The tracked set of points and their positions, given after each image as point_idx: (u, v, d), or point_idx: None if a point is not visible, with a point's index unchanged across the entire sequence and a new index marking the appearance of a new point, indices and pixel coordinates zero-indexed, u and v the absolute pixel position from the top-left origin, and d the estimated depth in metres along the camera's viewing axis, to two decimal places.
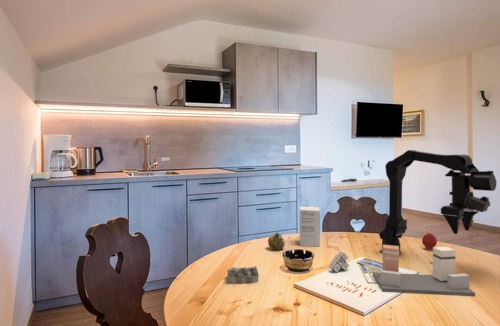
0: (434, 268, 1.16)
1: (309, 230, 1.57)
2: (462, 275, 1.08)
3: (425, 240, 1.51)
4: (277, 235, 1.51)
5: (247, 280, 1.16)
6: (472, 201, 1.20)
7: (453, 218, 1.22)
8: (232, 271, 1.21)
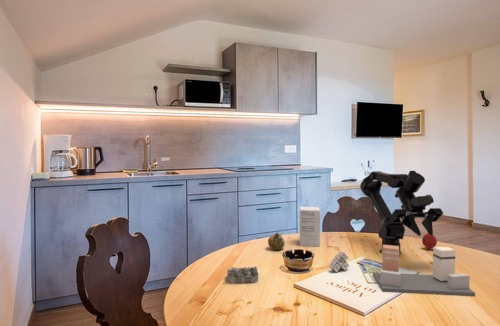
0: (434, 268, 1.16)
1: (309, 230, 1.57)
2: (462, 275, 1.08)
3: (425, 240, 1.51)
4: (277, 235, 1.51)
5: (247, 280, 1.16)
6: (412, 201, 1.29)
7: (410, 222, 1.28)
8: (232, 271, 1.21)
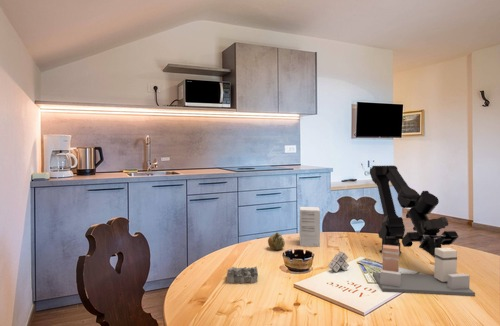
0: (436, 269, 1.15)
1: (309, 230, 1.57)
2: (462, 275, 1.08)
3: None
4: (277, 235, 1.51)
5: (246, 280, 1.16)
6: (425, 223, 1.21)
7: (429, 246, 1.21)
8: (232, 271, 1.21)
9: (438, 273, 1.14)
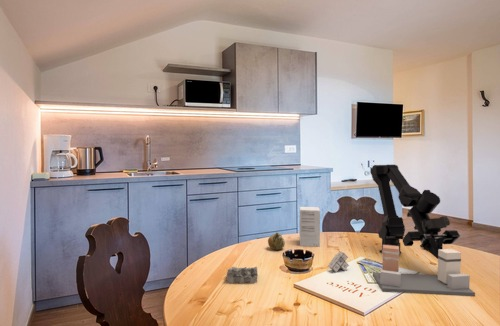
0: (439, 271, 1.14)
1: (309, 230, 1.57)
2: (462, 275, 1.08)
3: None
4: (277, 235, 1.51)
5: (246, 280, 1.16)
6: (426, 223, 1.20)
7: (430, 245, 1.20)
8: (233, 271, 1.22)
9: (442, 275, 1.13)
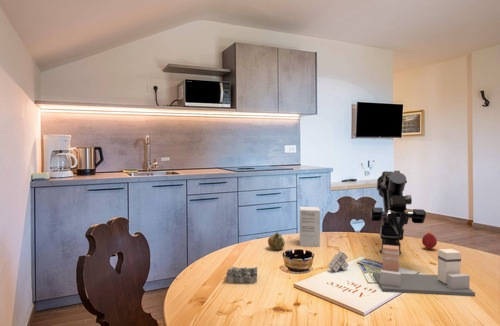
0: (439, 271, 1.14)
1: (309, 230, 1.57)
2: (462, 275, 1.08)
3: (425, 240, 1.51)
4: (277, 235, 1.51)
5: (245, 280, 1.16)
6: (391, 200, 1.30)
7: None
8: (233, 271, 1.22)
9: (442, 275, 1.13)
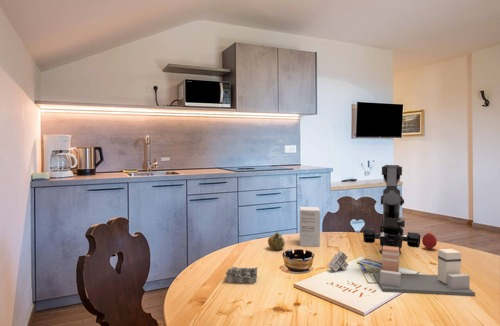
0: (439, 271, 1.14)
1: (309, 230, 1.57)
2: (462, 275, 1.08)
3: (425, 240, 1.51)
4: (277, 235, 1.51)
5: (245, 280, 1.16)
6: (384, 222, 1.23)
7: None
8: (233, 270, 1.22)
9: (442, 275, 1.13)
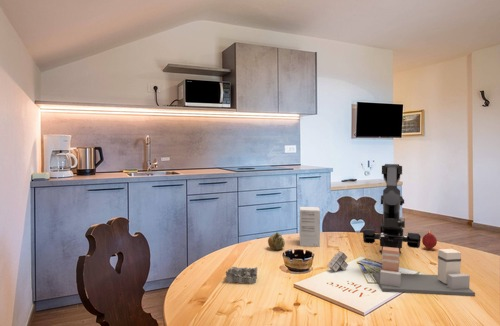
0: (439, 271, 1.14)
1: (309, 230, 1.57)
2: (462, 275, 1.08)
3: (425, 240, 1.51)
4: (277, 235, 1.51)
5: (244, 281, 1.16)
6: None
7: None
8: (233, 270, 1.22)
9: (442, 275, 1.13)
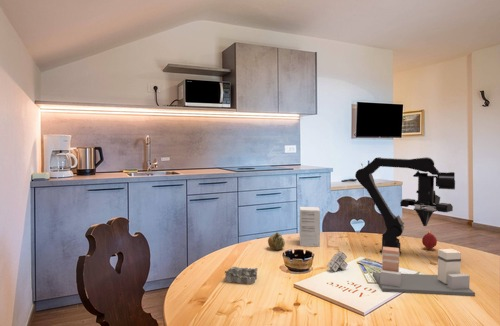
0: (439, 271, 1.14)
1: (309, 230, 1.57)
2: (462, 275, 1.08)
3: (425, 240, 1.51)
4: (277, 235, 1.51)
5: (243, 281, 1.16)
6: (436, 197, 1.42)
7: (428, 212, 1.40)
8: (234, 270, 1.22)
9: (442, 275, 1.13)
